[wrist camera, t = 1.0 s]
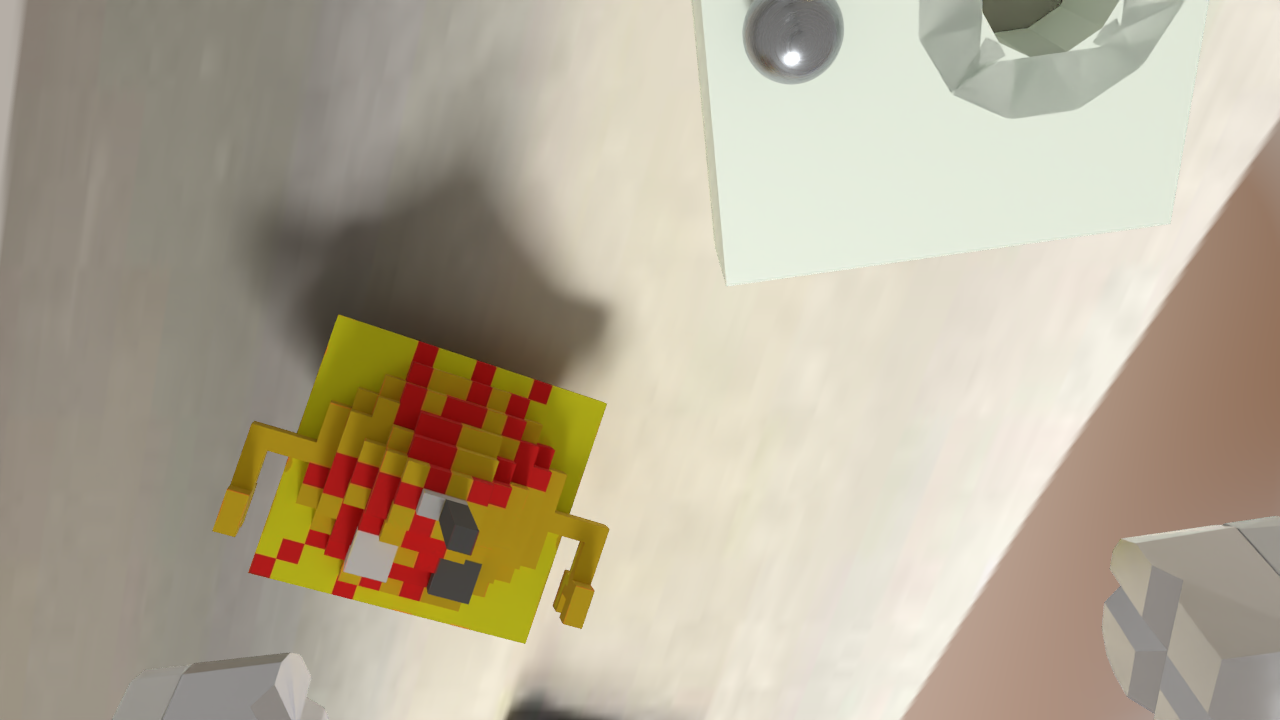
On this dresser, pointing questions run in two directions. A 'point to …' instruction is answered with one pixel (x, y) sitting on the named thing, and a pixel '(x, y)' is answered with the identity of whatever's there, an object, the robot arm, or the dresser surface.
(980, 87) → the board
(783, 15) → the ball
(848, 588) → the dresser surface
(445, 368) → the toy
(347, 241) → the dresser surface
